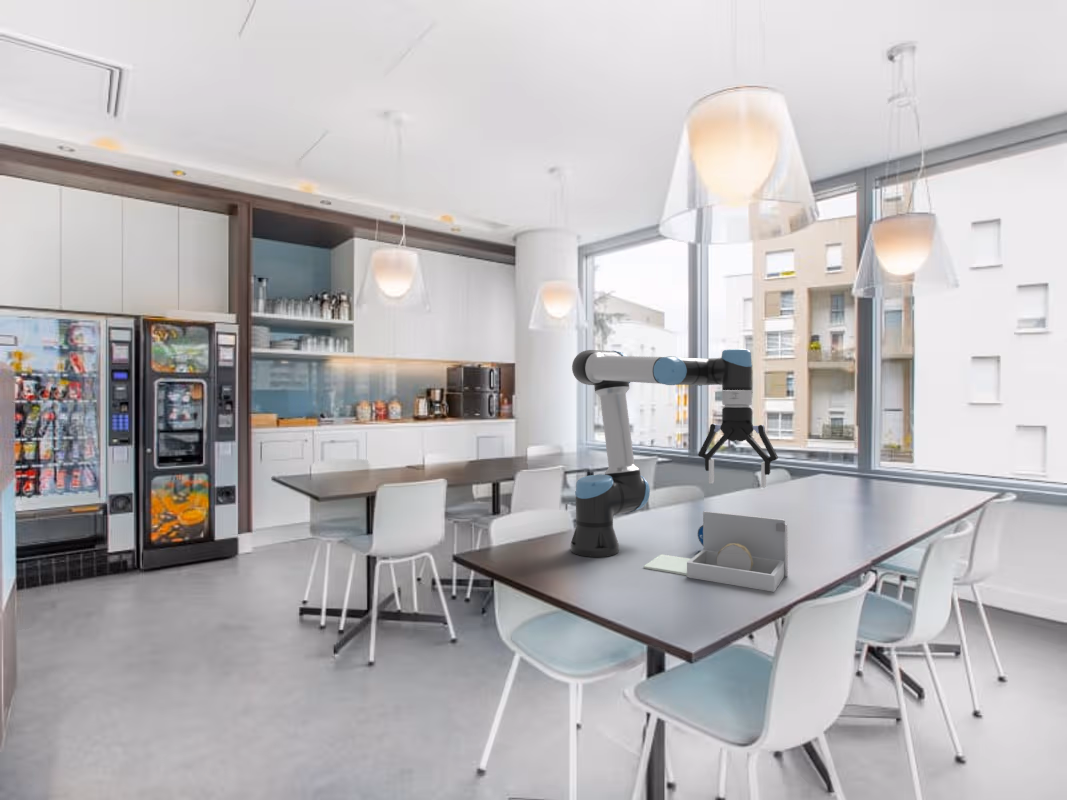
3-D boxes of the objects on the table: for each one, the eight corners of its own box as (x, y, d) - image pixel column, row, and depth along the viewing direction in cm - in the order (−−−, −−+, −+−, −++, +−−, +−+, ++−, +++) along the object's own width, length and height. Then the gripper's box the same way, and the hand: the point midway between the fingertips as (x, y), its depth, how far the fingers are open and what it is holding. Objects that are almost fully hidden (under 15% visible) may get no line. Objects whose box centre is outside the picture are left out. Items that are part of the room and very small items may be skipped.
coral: (709, 554, 150) (717, 532, 158) (716, 585, 153) (724, 562, 161) (747, 557, 145) (753, 533, 153) (753, 589, 148) (759, 564, 156)
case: (686, 577, 153) (686, 521, 153) (704, 562, 166) (703, 511, 166) (777, 592, 141) (777, 532, 141) (788, 575, 154) (788, 519, 154)
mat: (643, 568, 161) (643, 566, 161) (661, 556, 173) (661, 554, 173) (692, 576, 154) (692, 574, 154) (707, 563, 166) (707, 561, 166)
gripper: (686, 406, 157) (687, 483, 157) (784, 407, 144) (784, 490, 144) (694, 405, 163) (694, 479, 164) (788, 406, 150) (789, 486, 151)
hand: (737, 485), depth 154 cm, fingers open, 13 cm apart
